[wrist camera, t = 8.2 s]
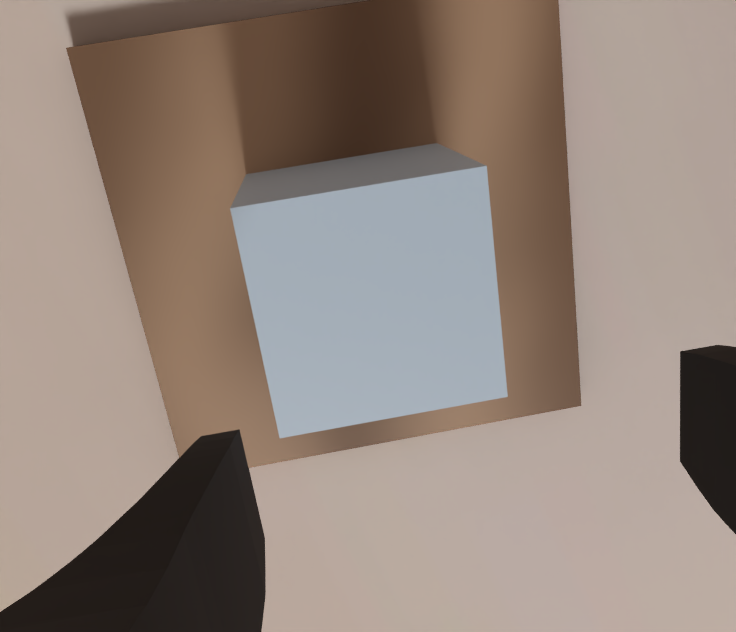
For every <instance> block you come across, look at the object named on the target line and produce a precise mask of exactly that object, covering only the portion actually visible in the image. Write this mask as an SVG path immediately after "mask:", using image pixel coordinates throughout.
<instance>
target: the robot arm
mask: <svg viewBox="0 0 736 632" xmlns="http://www.w3.org/2000/svg"><path fill="white" fill-rule="evenodd" d="M680 462H681V463H682V465H683V466H684V468H685V469H686V471H687V472H688V474H689V475H690V477H691V478H692V480H693V481H694V483H695V485H696V486H697V488H698V489H699V490H700V492H701V493H702V494H703V496H704V497H705V499H706V500H707V501H708V503H709V504H710V506H711V507H712V508H713V510H714V511H715V512H716V513H717V514H718V515H719V516H720V518H721V519H722V520H723V521H724V522H725V523H726V524H727V525H728V526H729V528H730V529H731V530H732V531H733V532H734V533H735V534H736V347H731V346H722V345H715V346H709V347H703V348H698V349H692V350H686V351H681V352H680ZM264 602H265V537H264V533H263V528H262V524H261V520H260V515H259V511H258V507H257V503H256V498H255V494H254V490H253V485H252V481H251V477H250V472H249V468H248V464H247V459H246V455H245V451H244V446H243V442H242V438H241V434H240V429H239V430H233V431H227V432H222V433H216V434H210V435H205V436H201V437H200V438H199V439H197V440H196V441H195V442H194V443H193V444H192V445H191V446H190V447H189V448H188V449H187V450H186V451H185V452H184V453H183V455H182V456H181V457H180V458H179V459H178V460H177V461H176V462H175V463H174V464H173V465H172V466H171V467H170V468H169V470H168V471H167V472H166V473H165V474H164V475H163V476H162V477H161V478H160V479H159V480H158V481H157V482H156V483H155V484H154V485H153V486H152V487H151V488H150V489H149V490H148V491H147V492H146V494H145V495H144V496H143V497H142V498H141V499H140V500H139V501H138V502H137V503H136V504H134V505H133V506H132V507H131V508H130V509H129V510H128V511H127V512H126V513H125V514H124V515H123V516H122V517H121V518H120V519H119V520H117V521H116V522H115V523H114V524H113V525H112V526H111V527H110V528H109V529H108V530H107V531H106V532H105V533H104V534H103V535H101V536H100V537H99V538H98V539H97V540H96V541H95V542H94V543H93V544H91V545H90V546H89V547H88V548H87V549H86V550H84V551H83V552H82V553H81V554H79V555H78V556H77V557H76V558H75V559H73V560H72V561H71V562H70V563H68V564H67V565H66V566H64V567H63V568H62V569H61V570H59V571H58V572H57V573H55V574H54V575H53V576H51V577H50V578H49V579H47V580H46V581H45V582H44V583H42V584H41V585H40V586H38V587H37V588H35V589H34V590H33V591H31V592H30V593H28V594H27V595H25V596H24V597H22V598H21V599H19V600H18V601H16V602H15V603H13V604H12V605H10V606H9V607H7V608H6V609H4V610H3V611H1V612H0V632H261V629H262V620H263V611H264Z"/></svg>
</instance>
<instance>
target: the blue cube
mask: <svg viewBox="0 0 736 632" xmlns="http://www.w3.org/2000/svg"><path fill="white" fill-rule="evenodd" d="M230 210H231V215H232V220H233V224H234V229H235V234H236V238H237V243H238V248H239V252H240V257H241V262H242V266H243V271H244V275H245V280H246V285H247V289H248V294H249V299H250V303H251V308H252V313H253V317H254V322H255V326H256V331H257V336H258V340H259V345H260V350H261V354H262V359H263V364H264V368H265V373H266V378H267V382H268V387H269V391H270V396H271V401H272V405H273V410H274V415H275V419H276V424H277V429H278V433H279V438H285V437H290V436H296V435H301V434H307V433H312V432H318V431H323V430H329V429H334V428H340V427H345V426H351V425H356V424H361V423H367V422H372V421H378V420H383V419H389V418H394V417H400V416H405V415H411V414H416V413H422V412H427V411H433V410H438V409H444V408H449V407H455V406H460V405H466V404H471V403H477V402H482V401H488V400H493V399H499V398H504V397H508V394H507V383H506V372H505V361H504V350H503V339H502V328H501V317H500V306H499V295H498V284H497V273H496V262H495V251H494V240H493V229H492V218H491V207H490V196H489V185H488V174H487V166H486V165H484V164H482V163H480V162H477V161H475V160H473V159H471V158H469V157H466V156H464V155H462V154H460V153H458V152H455V151H453V150H451V149H449V148H447V147H444V146H442V145H440V144H438V143H434V144H428V145H422V146H415V147H409V148H403V149H397V150H391V151H385V152H379V153H373V154H367V155H361V156H354V157H348V158H342V159H336V160H330V161H324V162H318V163H312V164H306V165H300V166H293V167H287V168H281V169H275V170H269V171H263V172H257V173H251V174H246V176H245V178H244V180H243V182H242V184H241V186H240V188H239V190H238V193H237V195H236V197H235V199H234V201H233V203H232V205H231V207H230Z"/></svg>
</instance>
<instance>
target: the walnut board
mask: <svg viewBox="0 0 736 632" xmlns="http://www.w3.org/2000/svg"><path fill="white" fill-rule="evenodd" d="M66 49H67V53H68V56H69V60H70V63H71V67H72V71H73V74H74V78H75V82H76V85H77V89H78V92H79V96H80V100H81V103H82V107H83V111H84V114H85V118H86V121H87V125H88V129H89V132H90V136H91V140H92V143H93V147H94V150H95V154H96V158H97V161H98V165H99V169H100V172H101V176H102V179H103V183H104V187H105V190H106V194H107V198H108V201H109V205H110V208H111V212H112V216H113V219H114V223H115V227H116V230H117V234H118V237H119V241H120V245H121V248H122V252H123V255H124V259H125V263H126V266H127V270H128V274H129V277H130V281H131V284H132V288H133V292H134V295H135V299H136V303H137V306H138V310H139V313H140V317H141V321H142V324H143V328H144V332H145V335H146V339H147V342H148V346H149V350H150V353H151V357H152V361H153V364H154V368H155V371H156V375H157V379H158V382H159V386H160V390H161V393H162V397H163V400H164V404H165V408H166V411H167V415H168V419H169V422H170V426H171V429H172V433H173V437H174V440H175V444H176V448H177V451H178V455H179V458H180V457H181V456H182V455H183V453H184V452H185V451H186V450H187V449H188V448H189V447H190V446H191V445H192V444H193V443H194V442H195V441H196V440H197V439H199V438H200V437H201V436H205V435H210V434H216V433H222V432H227V431H233V430H239V429H240V434H241V438H242V442H243V446H244V451H245V455H246V459H247V464H248V468H250V467H256V466H261V465H266V464H272V463H277V462H282V461H288V460H293V459H298V458H304V457H309V456H315V455H320V454H325V453H331V452H336V451H341V450H347V449H352V448H357V447H363V446H368V445H373V444H379V443H384V442H389V441H395V440H400V439H406V438H411V437H416V436H422V435H427V434H432V433H438V432H443V431H448V430H454V429H459V428H464V427H470V426H475V425H480V424H486V423H491V422H496V421H502V420H507V419H513V418H518V417H523V416H529V415H534V414H539V413H545V412H550V411H555V410H561V409H566V408H571V407H577V406H581V393H580V376H579V358H578V340H577V322H576V305H575V287H574V269H573V252H572V234H571V216H570V198H569V181H568V163H567V145H566V128H565V110H564V92H563V75H562V57H561V39H560V21H559V4H558V0H368V1H362V2H356V3H349V4H343V5H336V6H330V7H324V8H317V9H311V10H305V11H298V12H292V13H286V14H279V15H273V16H266V17H260V18H254V19H247V20H241V21H235V22H228V23H222V24H215V25H209V26H203V27H196V28H190V29H184V30H177V31H171V32H164V33H158V34H152V35H145V36H139V37H133V38H126V39H120V40H114V41H107V42H101V43H94V44H88V45H82V46H75V47H69V48H66ZM434 143H438V144H440V145H442V146H444V147H447V148H449V149H451V150H453V151H455V152H458V153H460V154H462V155H464V156H466V157H469V158H471V159H473V160H475V161H477V162H480V163H482V164H484V165H486V166H487V174H488V185H489V196H490V207H491V218H492V229H493V240H494V251H495V262H496V273H497V284H498V295H499V306H500V317H501V328H502V339H503V350H504V361H505V372H506V383H507V394H508V397H504V398H499V399H493V400H488V401H482V402H477V403H471V404H466V405H460V406H455V407H449V408H444V409H438V410H433V411H427V412H422V413H416V414H411V415H405V416H400V417H394V418H389V419H383V420H378V421H372V422H367V423H361V424H356V425H351V426H345V427H340V428H334V429H329V430H323V431H318V432H312V433H307V434H301V435H296V436H290V437H285V438H279V433H278V429H277V424H276V419H275V415H274V410H273V405H272V401H271V396H270V391H269V387H268V382H267V378H266V373H265V368H264V364H263V359H262V354H261V350H260V345H259V340H258V336H257V331H256V326H255V322H254V317H253V313H252V308H251V303H250V299H249V294H248V289H247V285H246V280H245V275H244V271H243V266H242V262H241V257H240V252H239V248H238V243H237V238H236V234H235V229H234V224H233V220H232V215H231V210H230V207H231V205H232V203H233V201H234V199H235V197H236V195H237V193H238V190H239V188H240V186H241V184H242V182H243V180H244V178H245V176H246V174H251V173H257V172H263V171H269V170H275V169H281V168H287V167H293V166H300V165H306V164H312V163H318V162H324V161H330V160H336V159H342V158H348V157H354V156H361V155H367V154H373V153H379V152H385V151H391V150H397V149H403V148H409V147H415V146H422V145H428V144H434Z"/></svg>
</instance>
